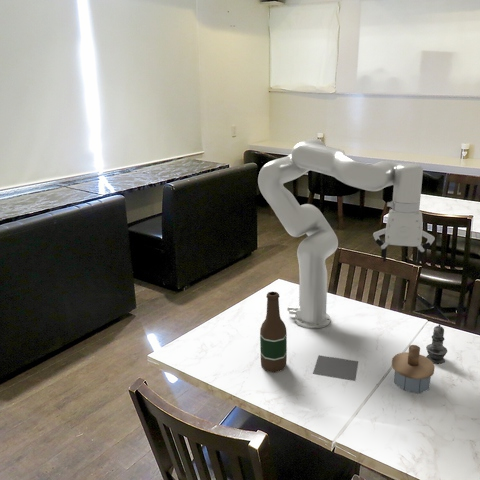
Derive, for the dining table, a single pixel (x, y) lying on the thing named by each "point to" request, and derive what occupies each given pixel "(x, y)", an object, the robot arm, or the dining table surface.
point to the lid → (413, 364)
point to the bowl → (412, 383)
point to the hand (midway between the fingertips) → (401, 261)
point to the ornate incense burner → (437, 346)
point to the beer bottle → (273, 337)
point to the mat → (336, 367)
